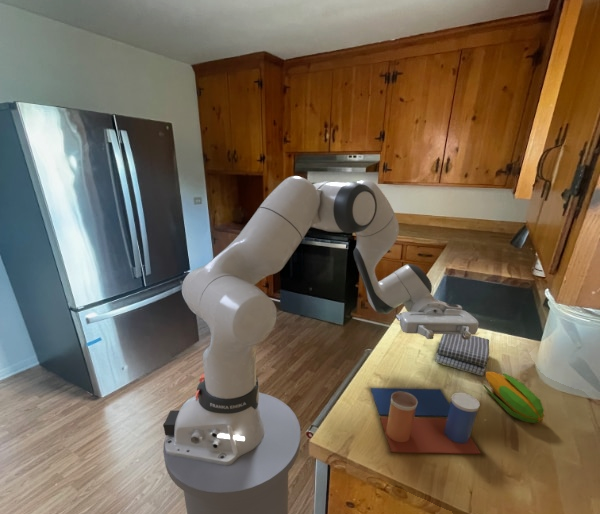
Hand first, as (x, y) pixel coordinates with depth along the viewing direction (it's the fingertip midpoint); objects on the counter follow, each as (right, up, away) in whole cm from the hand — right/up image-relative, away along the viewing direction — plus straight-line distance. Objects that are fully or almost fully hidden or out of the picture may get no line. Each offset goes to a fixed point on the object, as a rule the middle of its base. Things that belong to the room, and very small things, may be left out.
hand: (449, 336), depth 83 cm
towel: (+16, -10, +28) cm, 34 cm away
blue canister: (-1, -23, -5) cm, 23 cm away
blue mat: (-8, -18, +6) cm, 21 cm away
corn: (+18, -19, +7) cm, 27 cm away
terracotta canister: (-15, -23, -5) cm, 27 cm away
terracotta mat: (-8, -23, -5) cm, 25 cm away
